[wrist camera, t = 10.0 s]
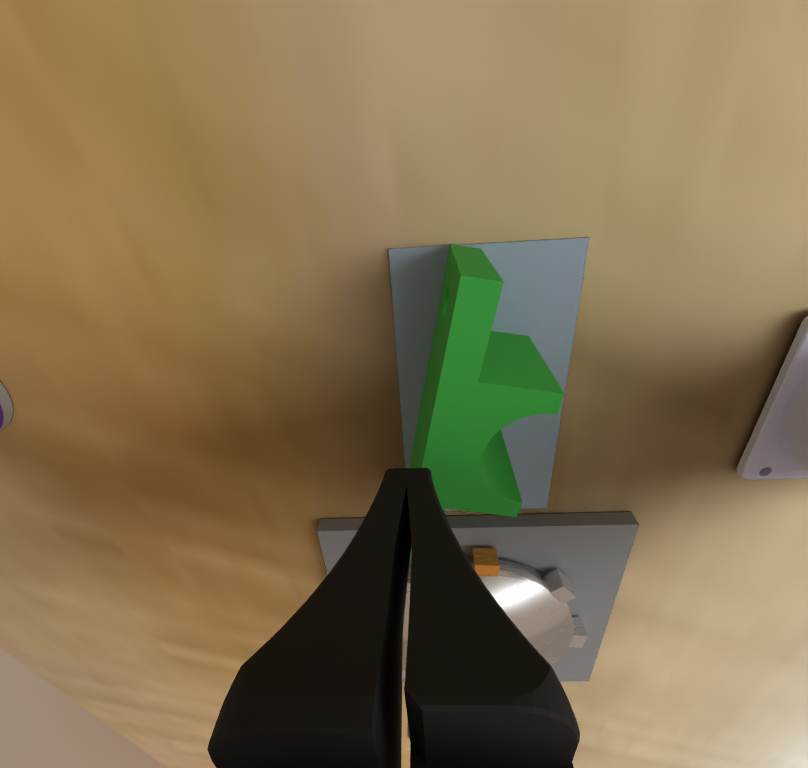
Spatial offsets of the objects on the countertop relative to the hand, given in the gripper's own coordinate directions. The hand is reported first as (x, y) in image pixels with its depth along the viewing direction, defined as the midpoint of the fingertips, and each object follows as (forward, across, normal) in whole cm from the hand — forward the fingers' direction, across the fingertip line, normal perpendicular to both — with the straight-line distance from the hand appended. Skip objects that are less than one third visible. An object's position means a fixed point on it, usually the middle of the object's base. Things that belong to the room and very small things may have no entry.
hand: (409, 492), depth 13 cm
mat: (+5, -3, 0) cm, 6 cm away
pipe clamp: (+6, -2, -1) cm, 6 cm away
